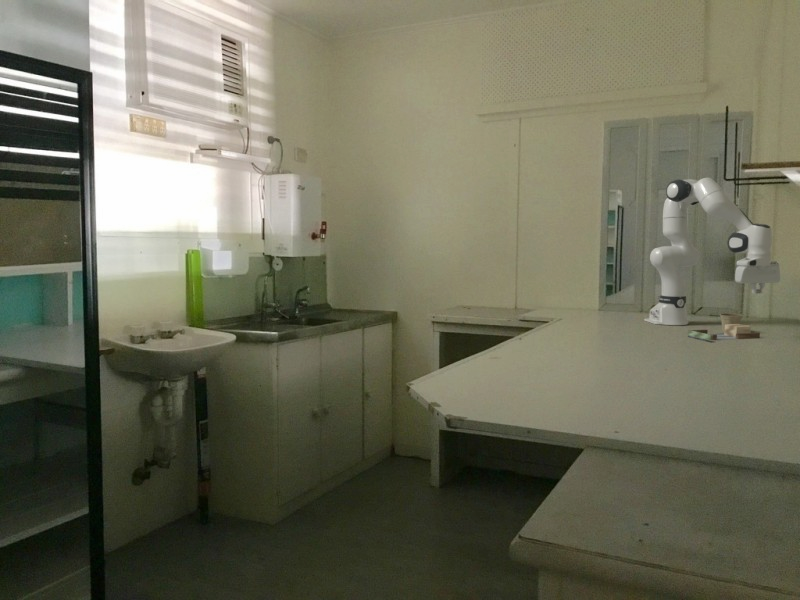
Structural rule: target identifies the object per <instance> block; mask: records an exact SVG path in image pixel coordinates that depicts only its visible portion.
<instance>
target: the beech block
mask: <svg viewBox="0 0 800 600" xmlns="http://www.w3.org/2000/svg"><path fill="white" fill-rule="evenodd" d="M751 329H752V326H751V325H746V324H742V323H740V324H726V325H725V331H724V332H723V333H724V335H728V336H733V337H736V334H740V333H752V331H751Z"/></svg>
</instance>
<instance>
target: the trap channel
mask: <svg viewBox="0 0 800 600" xmlns="http://www.w3.org/2000/svg"><path fill="white" fill-rule="evenodd" d="M760 335H761V333H760V332H750V333H740V334H736V337H733V336H728V335H724V332H722V333H721V332H720V333H709V331H708V329H693V330H690V329H689V330H688V331H687V338H689V339H693V340H698V341H704V342H707V343H715V340H716V341H721V340H724V341H725V340H741V339H743V340H744V339H760V337H761V336H760Z"/></svg>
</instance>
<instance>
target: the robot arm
mask: <svg viewBox="0 0 800 600" xmlns="http://www.w3.org/2000/svg"><path fill="white" fill-rule="evenodd" d="M665 195H666V197H667V198H666V199H665V200H664V204H663V208H662V210H663V211H662V234H663V236H664V237H665V238H667V239H668V240H669V241H670V244H671V245H667V246H666V245H664V246H663V245H662V246H659V247H655V248H653V249H652V250H651V252H650V254H649V260H650V261H649V262H650V263H651V265H652V266H653V267H654V268H655V269H656V270H657V272H658V274H659V277H660V280H661V283H660V284H661V293H660V296H658V297H657V299H658V303H656V305H655V306H653V307H652V308H651V309H649V314H648V315H649V317H648V318H647V317H646V318H644V319H643V320H644V322H647V323H651V324H653V325H665V326H686V325H688V324H689V323H690V321H689V320H688V307H687V305H686V303H687V295H686V291H687V289H686V287H687V284H686V283H687V281H686V279H685V278H684V277H683V276H681V275H680V274H679V270H678V269H686V268H687V269H688V268H691V267H695V266H697V264H698V263H699V262H700V259H701V255H700V251H699V250H698V249H697V248H696V247H695V246H694V245H693V243H692V241H691V240H690V237H689V233H688V214H687V213H688V212H687V210H688V206H689V205H690V206H691V205H692V206H694V205H695V206H696V205H697V204H698V203H699V204H700V206H701V207H702V209H703V210H704V212H705V213H707V214H708V215H709V216H710V217H713V218H717V219H720V220H724V221H726V222H729V223H730V224H733V226H734V227H735V228H736V229H737V230H738V231H735V232H733V233H731V234H730V235H729V236H728V239H727V242H726V243H727V247H728V250H729V251H730V252H732V253H734V254H747V256H746V257H743V258H742V259H741V258H740V259H739V260H737V261H736V268H735V274H734V281H735V283H736V284H749V286H750V288H751V294H754V295H755V294H757V295H759V294H760V295H761V294H763V290H764V288H765V286H766V284H772V283H773V284H775V283H780V281H781V270H780V264H779V262H777V260H776V261H772V252H771V247H772V246H773V245H772V244H773V232H772V228H771V226H770V225H768V224H763V223H753V222H752V220H751V219H750V218H749V217H748V215H746V214H745V212H744V211H743V210H742V209H741V208H740V207H739V206H738V205H736V204H735V203H734V201H732V200H731V199H730V197H729V196H728V195H727V193H726V192H725V191H724V190H723V188H722V187H721V186H720V185H719V183H718V182H716V181H715V180H714V179H713V178H711V177H704V178H700V179H690V178H689V179H675V180H671V182H669V183H668V184H667V186H666V189H665ZM757 284H758V288H757V287H756V286H757Z"/></svg>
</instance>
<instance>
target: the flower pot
mask: <svg viewBox="0 0 800 600" xmlns="http://www.w3.org/2000/svg"><path fill="white" fill-rule="evenodd" d="M743 316H744V315H743V314H739V313H728V312H727V313H724V312H723V313H719V317H720V320H721V321H720V322H721V330H722V333H724V331H725V325H726V324H741V321H742V319H743Z"/></svg>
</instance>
